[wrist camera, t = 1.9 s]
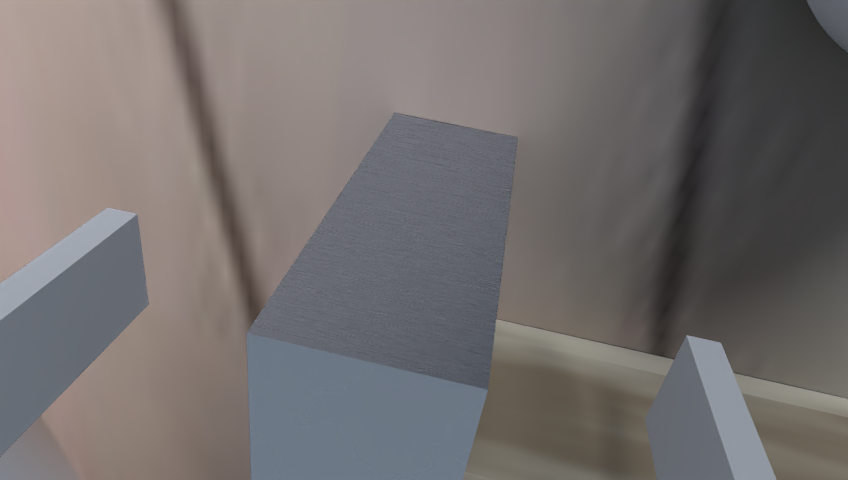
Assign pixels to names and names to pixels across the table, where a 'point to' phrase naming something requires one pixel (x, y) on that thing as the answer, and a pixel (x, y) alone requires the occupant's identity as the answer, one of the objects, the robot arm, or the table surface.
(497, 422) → the well block
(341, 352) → the pale blue pillar block
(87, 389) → the table surface
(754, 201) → the table surface
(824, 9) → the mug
